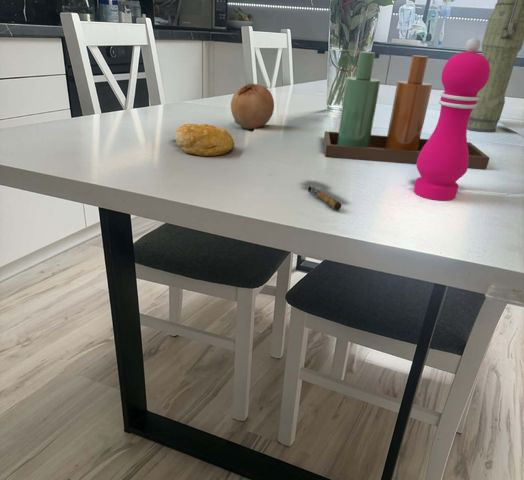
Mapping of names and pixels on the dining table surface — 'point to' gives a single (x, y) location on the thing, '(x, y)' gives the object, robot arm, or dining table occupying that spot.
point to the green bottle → (359, 104)
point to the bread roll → (204, 139)
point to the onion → (252, 106)
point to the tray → (390, 152)
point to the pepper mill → (452, 125)
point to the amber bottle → (409, 108)
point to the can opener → (325, 198)
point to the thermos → (498, 62)
